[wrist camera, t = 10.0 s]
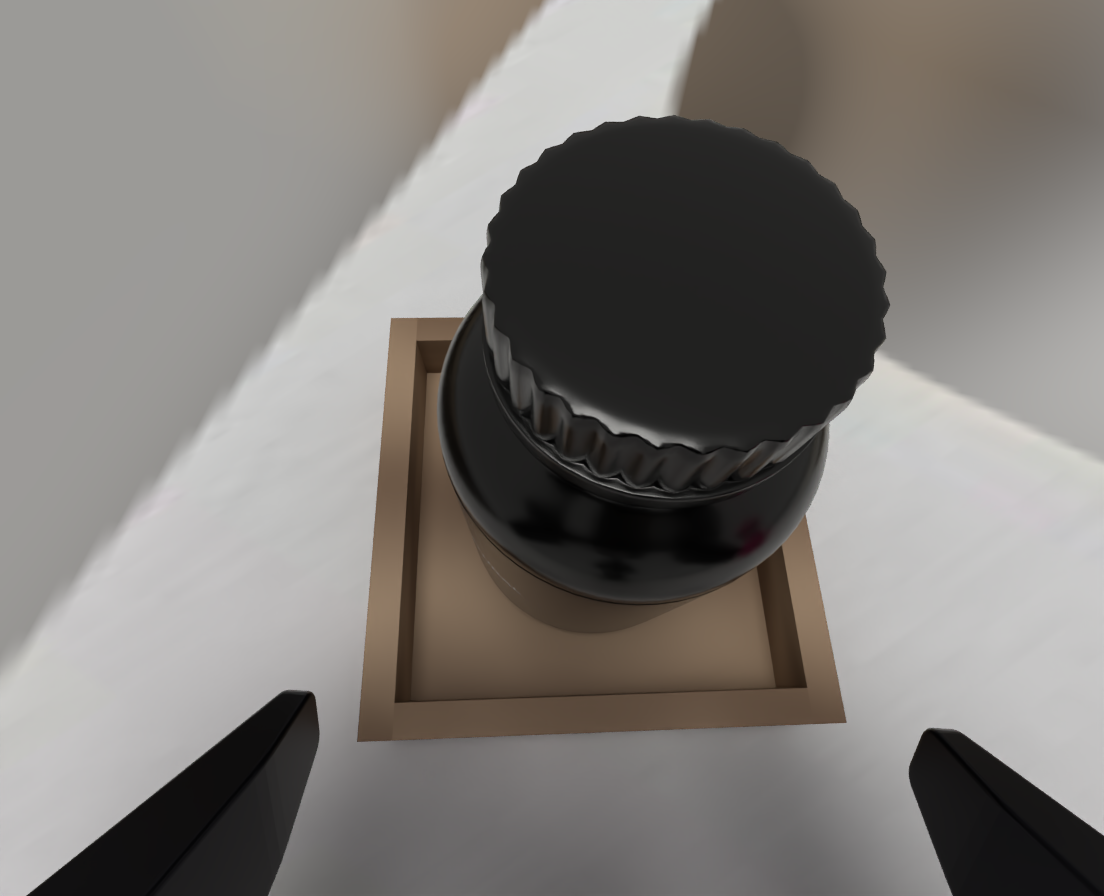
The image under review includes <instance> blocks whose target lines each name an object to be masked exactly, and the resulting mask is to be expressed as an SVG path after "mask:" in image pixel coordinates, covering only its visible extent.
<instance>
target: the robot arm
mask: <svg viewBox="0 0 1104 896" xmlns="http://www.w3.org/2000/svg"><path fill="white" fill-rule="evenodd" d="M319 734H320V733H319V723H318V715H317V707H316V699H315V696H314V694H313V693H312V692H310V691H300V690H286V691H283V692H281V693H280V694H278V695H277V696H276V697H275V698H273V699H272V700H271V701H270V702H268V703H267V704H266V705H265V706H263V707H262V708H261V709H260V710H258V711H257V712H256V713H255V714H253V715H252V716H251V717H250V718H248V719H247V720H246V721H245V722H243V723H242V724H241V725H240V726H238V727H237V728H236V729H235V730H233V731H232V732H231V733H230V734H228V735H227V736H226V737H225V738H223V739H222V740H221V741H220V742H218V743H217V744H216V745H215V746H213V747H212V748H211V749H210V750H208V751H207V752H206V753H205V754H203V755H202V756H201V757H200V758H198V759H197V760H196V761H195V762H193V763H192V764H191V765H190V766H188V767H187V768H186V769H184V770H183V771H182V772H181V773H179V774H178V775H177V776H176V777H174V778H173V779H172V780H171V781H169V782H168V783H167V784H166V785H164V786H163V787H162V788H161V789H159V790H158V791H157V792H156V793H154V794H153V795H152V796H151V797H149V798H148V799H147V800H146V801H144V802H143V803H142V804H141V805H139V806H138V807H137V808H136V809H134V810H133V811H132V812H131V813H129V814H128V815H127V816H126V817H124V818H123V819H122V820H121V821H119V822H118V823H117V824H116V825H114V826H113V827H112V828H111V829H109V830H108V831H107V832H106V833H104V834H103V835H102V836H101V837H99V838H98V839H97V840H96V841H94V842H93V843H92V844H91V845H89V846H88V847H87V848H86V849H84V850H83V851H82V852H81V853H79V854H78V855H77V856H76V857H74V858H73V859H72V860H71V861H69V862H68V863H67V864H66V865H64V866H63V867H62V868H61V869H59V870H58V871H57V872H56V873H54V874H53V875H52V876H51V877H49V878H48V879H47V880H46V881H44V882H43V883H42V884H40V885H39V886H38V887H37V888H35V889H34V890H33V891H32V892H30V893H29V894H28V895H27V896H268V894H269V891H270V889H271V886H272V884H273V882H274V879H275V877H276V874H277V872H278V869H279V867H280V864H281V862H282V859H283V856H284V853H285V850H286V847H287V844H288V841H289V838H290V834H291V831H292V828H293V825H294V822H295V819H296V815H297V812H298V809H299V806H300V803H301V799H302V796H303V793H304V790H305V787H306V784H307V780H308V777H309V774H310V771H311V768H312V765H313V761H314V758H315V755H316V752H317V748H318V744H319ZM909 779H910V784H911V787H912V790H913V792H914V795H915V798H916V800H917V803H918V806H919V808H920V811H921V814H922V816H923V819H924V822H925V824H926V827H927V830H928V832H929V835H930V838H931V840H932V843H933V846H934V848H935V851H936V854H937V856H938V859H939V862H940V864H941V867H942V870H943V872H944V875H945V878H946V880H947V883H948V885H949V888H950V890H951V893H952V895H953V896H1104V835H1102V834H1101V833H1099V832H1098V831H1097V830H1095V829H1094V828H1093V827H1091V826H1090V825H1088V824H1087V823H1086V822H1084V821H1083V820H1081V819H1080V818H1079V817H1077V816H1076V815H1075V814H1073V813H1072V812H1070V811H1069V810H1068V809H1066V808H1065V807H1063V806H1062V805H1061V804H1059V803H1058V802H1057V801H1055V800H1054V799H1052V798H1051V797H1050V796H1048V795H1047V794H1046V793H1044V792H1043V791H1041V790H1040V789H1039V788H1037V787H1036V786H1034V785H1033V784H1032V783H1030V782H1029V781H1028V780H1026V779H1025V778H1023V777H1022V776H1021V775H1019V774H1018V773H1017V772H1015V771H1014V770H1012V769H1011V768H1010V767H1008V766H1007V765H1005V764H1004V763H1003V762H1001V761H1000V760H999V759H997V758H996V757H994V756H993V755H992V754H990V753H989V752H988V751H986V750H985V749H983V748H982V747H981V746H979V745H978V744H976V743H975V742H974V741H972V740H971V739H970V738H968V737H967V736H965V735H964V734H962V733H961V732H959V731H957V730H953V729H940V728H929V729H927V730H926V731H924V732H923V734H922V736H921V739H920V741H919V744H918V746H917V748H916V751H915V753H914V756H913V758H912V761H911V763H910V766H909Z"/></svg>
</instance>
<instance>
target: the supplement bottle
mask: <svg viewBox="0 0 1104 896" xmlns="http://www.w3.org/2000/svg"><path fill="white" fill-rule="evenodd" d="M885 277H886V271H885V269H884V267H883V265H882V264H881V263H880V261H879V260H878V258H877V256H876V243H875V239H874V238H873V237H872V236H871V234H870V233H869V232H867V230H866V229H865V228H864V227H863V226H862V223H861V218H860V215H859V212H858V210H857V209H856V208H854V207H853V206H852V205H851V204H850V203H848V202H847V201H846V200H844V199H843V198H842V196H841V193H840V191H839V189H838V188H837V186H836V184H835V183H833V182H832V181H830V180H828V179H826V178H824V177H823V176H821V175H819V174H818V172H817V171H816V170H815V168H814V167H813V166H812V165H811V163H810V162H809V161H808V160H805V159H803V158H801V157H798V156H795V155H793V154H791V153H789V152H788V151H787V150H786V149H785V148H784V147H783V146H782V145H780V144H779V143H778V142H775V141H771V140H767V139H762V138H759V137H757V136H755V135H754V134H752V133H751V132H749V131H748V130H746V129H744V128H736V127H726V126H724V125H721V124H719V123H717V122H715V121H712V120H710V119H707V120H706V119H705V120H689V119H686V118H683V117H679V116H676V115H672V116H667V117H662V118H658V119H657V118H650V117H644V116H638V117H635V118H632V119H630V120H627V121H625V122H604V123H603V124H601V125H599V126H598V127H596V128H595V129H593V130H590V131H583V132H577V133H573V134H572V135H571V136H570V137H569V138H568V139H567V140H566V141H565V142H564V143H563V144H560V145H557V146H553V147H550V148H547V149H545V150H544V152H543V153H542V154H541V156H540V157H539V159H538V161H537V162H536V163H534V164H532V165H530V166H527V167H525V168H524V169H522V170H521V171H520V173H519V175H518V178H517V182H516V184H515V185H514V186H513V187H512V188H511V189H509V190H507V191H506V192H505V193H504V194H502V195H501V199H500V206H499V212H498V213H497V214H496V215H495V217H494V218H493V219H492V220H491V222H490V223H489V224H488V227H487V248H486V249H485V252H484V254H483V256H482V259H481V279H482V288H483V294H482V295H481V296H480V298H479V299H478V300H477V301H476V303H475V304H474V305H473V306H472V308H471V309H470V310H469V312H468V313H467V315H466V316H465V318H464V319H463V321H462V322H461V324H460V325H459V327H458V329H457V331H456V333H455V335H454V337H453V339H452V341H451V343H450V346H449V348H448V351H447V354H446V356H445V360H444V363H443V367H442V371H441V375H440V380H439V387H438V394H437V423H438V433H439V439H440V444H441V450H442V454H443V459H444V462H445V466H446V469H447V473H448V476H449V479H450V481H451V484H452V486H453V489H454V492H455V494H456V497H457V499H458V502H459V505H460V507H461V510H462V512H463V515H464V517H465V520H466V522H467V525H468V528H469V530H470V533H471V535H472V538H473V540H474V543H475V546H476V548H477V551H478V553H479V555H480V558H481V560H482V562H483V564H484V566H485V568H486V570H487V571H488V573H489V575H490V577H491V578H492V580H493V581H494V583H495V584H496V586H497V587H498V588H499V589H500V590H501V592H502V593H503V594H504V595H505V596H506V597H507V598H508V599H509V600H510V601H511V602H512V603H513V604H515V605H516V606H517V607H518V608H520V609H521V610H522V611H524V612H525V613H527V614H528V615H530V616H531V617H533V618H535V619H537V620H539V621H541V622H543V623H545V624H548V625H550V626H553V627H555V628H559V629H563V630H566V631H572V632H578V633H607V632H614V631H619V630H623V629H627V628H630V627H633V626H636V625H638V624H641V623H644V622H646V621H648V620H651V619H653V618H655V617H657V616H660V615H662V614H664V613H666V612H669V611H671V610H673V609H675V608H678V607H680V606H682V605H684V604H687V603H689V602H691V601H693V600H696V599H698V598H700V597H702V596H705V595H707V594H709V593H711V592H713V591H715V590H717V589H719V588H722V587H724V586H726V585H728V584H730V583H732V582H734V581H735V580H737V579H738V578H740V577H741V576H743V575H745V574H746V573H748V572H749V571H751V570H752V569H754V568H755V567H757V566H758V565H759V564H761V563H762V562H763V561H764V560H766V559H767V558H768V557H769V556H771V555H772V554H773V553H774V552H775V551H776V550H777V549H778V548H779V547H780V546H781V545H782V544H783V543H784V542H785V541H786V540H787V539H788V538H789V536H790V535H791V534H792V533H793V531H794V530H795V529H796V528H797V526H798V525H799V523H800V522H801V520H802V518H803V517H804V515H805V514H806V512H807V510H808V509H809V507H810V505H811V503H812V501H813V498H814V496H815V494H816V492H817V490H818V487H819V484H820V481H821V478H822V475H823V471H824V467H825V462H826V457H827V452H828V442H829V422H831V421H832V420H833V419H834V418H835V417H837V416H838V415H839V414H840V413H841V412H842V411H844V410H845V409H846V408H847V406H848V405H849V404H850V402H851V401H852V399H853V396H854V393H855V391H856V389H857V388H858V387H859V386H860V385H861V384H863V383H864V382H865V381H866V380H867V379H868V378H869V376H870V375H871V373H872V372H873V368H874V354H875V352H876V351H877V350H878V349H879V348H880V346H881V345H882V344H883V342H884V340H885V339H886V335H885V328H884V322H883V318H884V317H885V315H886V313H887V311H888V309H889V307H890V303H889V300H888V297H887V295H886V294H885V291H884V288H883V285H884V282H885Z"/></svg>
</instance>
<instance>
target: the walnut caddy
mask: <svg viewBox="0 0 1104 896" xmlns="http://www.w3.org/2000/svg"><path fill="white" fill-rule="evenodd" d="M463 319H464V318H391V326H390V338H389V351H388V363H387V376H386V388H385V401H384V413H383V426H382V438H381V451H380V463H379V476H378V488H377V501H376V513H375V526H374V538H373V551H372V563H371V576H370V588H369V601H368V613H367V626H366V639H365V651H364V664H363V676H362V689H361V701H360V714H359V726H358V739H357V742H365V741H390V740H416V739H442V738H467V737H493V736H518V735H544V734H570V733H595V732H621V731H647V730H672V729H698V728H723V727H749V726H775V725H800V724H826V723H846V717H845V712H844V707H843V702H842V697H841V692H840V687H839V682H838V677H837V672H836V667H835V662H834V657H833V652H832V647H831V642H830V636H829V631H828V626H827V621H826V616H825V611H824V606H823V601H822V596H821V591H820V586H819V581H818V576H817V571H816V566H815V561H814V556H813V550H812V545H811V540H810V535H809V530H808V525H807V520H806V515H804V517H803V518H802V520H801V522H800V523H799V525H798V526H797V528H796V529H795V530H794V531H793V533H792V534H791V535H790V536H789V538H788V539H787V540H786V541H785V542H784V543H783V544H782V545H781V546H780V547H779V548H778V549H777V550H776V551H775V552H774V553H773V554H772V555H771V556H769V557H768V558H767V559H766V560H764V561H763V562H762V563H761V564H759V565H758V566H757V567H755V568H754V569H752V570H751V571H749V572H748V573H746V574H745V575H743V576H741V577H740V578H738V579H737V580H735V581H734V582H732V583H730V584H728V585H726V586H724V587H722V588H719V589H717V590H715V591H713V592H711V593H709V594H707V595H705V596H702V597H700V598H698V599H696V600H693V601H691V602H689V603H687V604H684V605H682V606H680V607H678V608H675V609H673V610H671V611H669V612H666V613H664V614H662V615H660V616H657V617H655V618H653V619H651V620H648V621H646V622H644V623H641V624H638V625H636V626H633V627H630V628H627V629H623V630H619V631H614V632H607V633H578V632H572V631H566V630H563V629H559V628H555V627H553V626H550V625H548V624H545V623H543V622H541V621H539V620H537V619H535V618H533V617H531V616H530V615H528V614H527V613H525V612H524V611H522V610H521V609H520V608H518V607H517V606H516V605H515V604H513V603H512V602H511V601H510V600H509V599H508V598H507V597H506V596H505V595H504V594H503V593H502V592H501V590H500V589H499V588H498V587H497V586H496V584H495V583H494V581H493V580H492V578H491V577H490V575H489V573H488V571H487V570H486V568H485V566H484V564H483V562H482V560H481V558H480V555H479V553H478V551H477V548H476V546H475V543H474V540H473V538H472V535H471V533H470V530H469V528H468V525H467V522H466V520H465V517H464V515H463V512H462V510H461V507H460V505H459V502H458V499H457V497H456V494H455V492H454V489H453V486H452V484H451V481H450V479H449V476H448V473H447V469H446V466H445V462H444V459H443V454H442V450H441V444H440V439H439V433H438V423H437V394H438V387H439V380H440V375H441V371H442V367H443V363H444V360H445V356H446V354H447V351H448V348H449V346H450V343H451V341H452V339H453V337H454V335H455V333H456V331H457V329H458V327H459V325H460V324H461V322H462V321H463Z"/></svg>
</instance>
